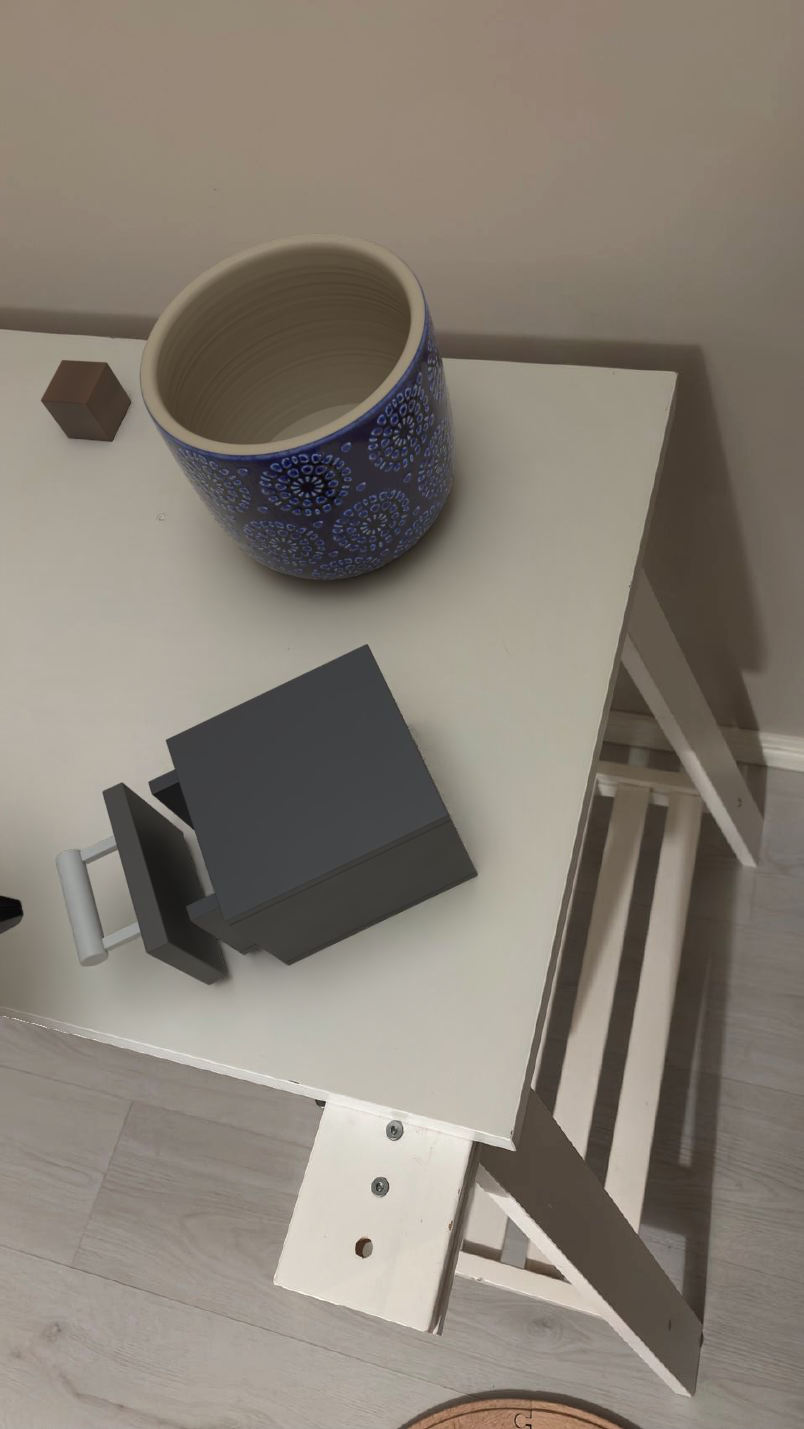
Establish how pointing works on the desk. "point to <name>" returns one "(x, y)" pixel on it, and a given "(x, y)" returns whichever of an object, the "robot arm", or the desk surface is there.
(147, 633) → the desk surface
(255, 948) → the drawer
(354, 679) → the cabinet
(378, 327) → the planter
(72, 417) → the walnut block
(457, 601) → the desk surface
